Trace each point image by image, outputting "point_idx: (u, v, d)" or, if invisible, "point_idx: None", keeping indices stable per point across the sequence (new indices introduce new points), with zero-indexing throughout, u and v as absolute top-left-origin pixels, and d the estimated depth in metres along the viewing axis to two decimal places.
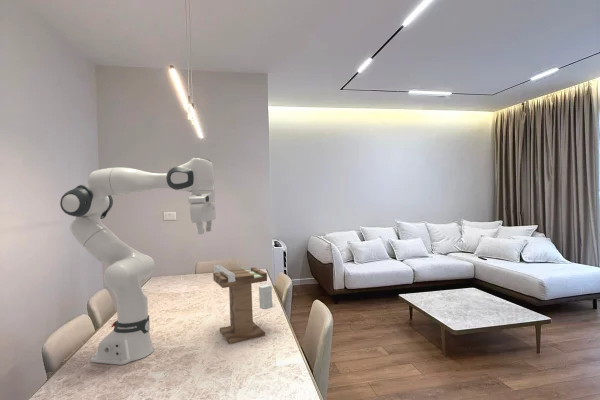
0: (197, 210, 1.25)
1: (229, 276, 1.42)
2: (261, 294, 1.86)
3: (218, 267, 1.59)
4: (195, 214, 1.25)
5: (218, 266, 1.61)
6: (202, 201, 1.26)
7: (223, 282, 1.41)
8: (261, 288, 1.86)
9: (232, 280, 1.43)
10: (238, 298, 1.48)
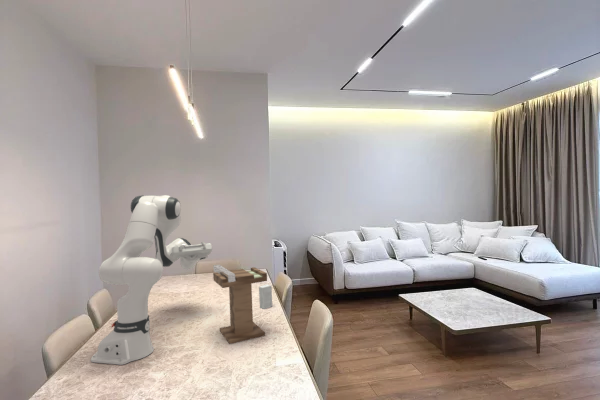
0: None
1: (229, 276, 1.42)
2: (261, 294, 1.86)
3: (218, 267, 1.59)
4: None
5: (218, 266, 1.61)
6: (207, 255, 1.83)
7: (223, 282, 1.41)
8: (261, 288, 1.86)
9: (232, 280, 1.43)
10: (238, 298, 1.48)
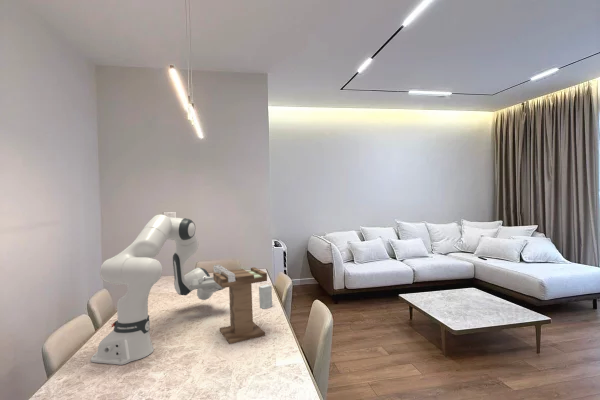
0: None
1: (229, 276, 1.42)
2: (261, 294, 1.86)
3: (218, 267, 1.59)
4: None
5: (218, 266, 1.61)
6: None
7: (223, 282, 1.41)
8: (261, 288, 1.86)
9: (232, 280, 1.43)
10: (238, 298, 1.48)
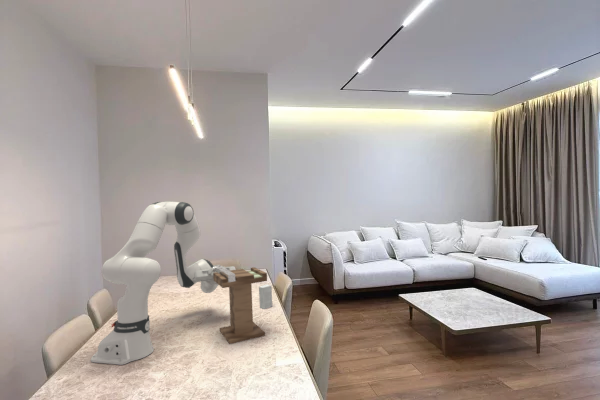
0: None
1: (229, 276, 1.42)
2: (261, 294, 1.86)
3: (218, 267, 1.59)
4: None
5: (218, 266, 1.61)
6: None
7: (223, 282, 1.41)
8: (261, 288, 1.86)
9: (232, 280, 1.43)
10: (238, 298, 1.48)
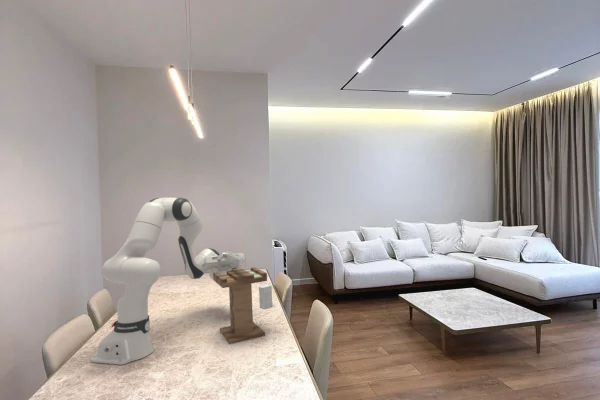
0: None
1: (240, 260, 1.44)
2: (261, 294, 1.86)
3: (228, 253, 1.61)
4: None
5: (228, 252, 1.64)
6: None
7: (223, 282, 1.41)
8: (261, 288, 1.86)
9: (243, 264, 1.45)
10: (238, 298, 1.48)
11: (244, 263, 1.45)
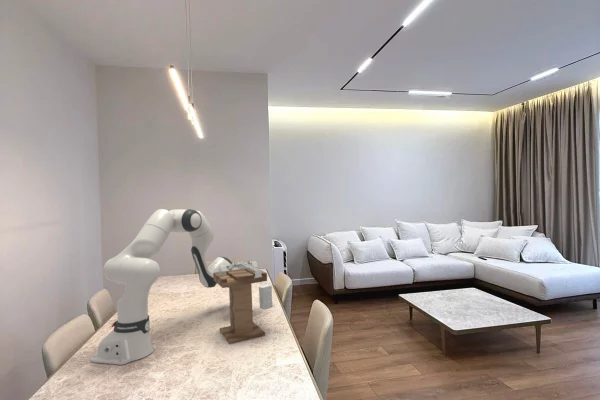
0: None
1: (256, 272, 1.48)
2: (261, 294, 1.86)
3: (242, 263, 1.65)
4: None
5: (242, 263, 1.67)
6: None
7: (223, 282, 1.41)
8: (261, 288, 1.86)
9: (258, 276, 1.48)
10: (238, 298, 1.48)
11: (260, 274, 1.48)
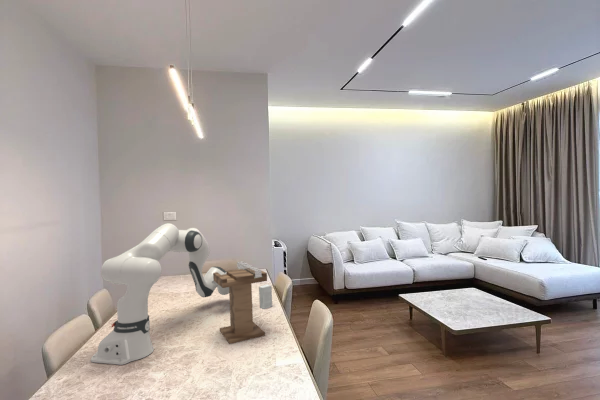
0: None
1: (256, 272, 1.48)
2: (261, 294, 1.86)
3: (242, 263, 1.65)
4: None
5: (242, 263, 1.67)
6: None
7: (223, 282, 1.41)
8: (261, 288, 1.86)
9: (258, 276, 1.48)
10: (238, 298, 1.48)
11: (260, 274, 1.48)
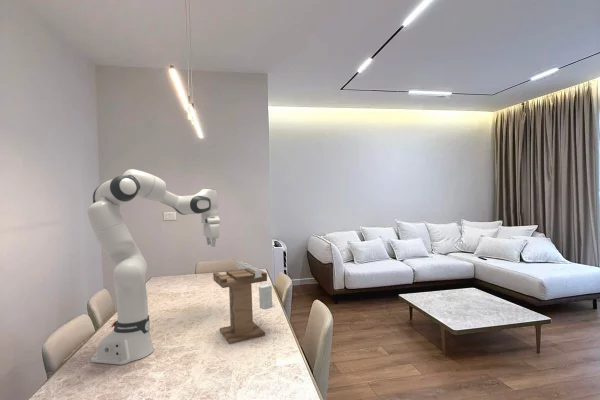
0: (216, 229, 1.69)
1: (256, 272, 1.48)
2: (261, 294, 1.86)
3: (242, 263, 1.65)
4: (215, 232, 1.68)
5: (242, 263, 1.67)
6: (218, 222, 1.70)
7: (223, 282, 1.41)
8: (261, 288, 1.86)
9: (258, 276, 1.48)
10: (238, 298, 1.48)
11: (260, 274, 1.48)
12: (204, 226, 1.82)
